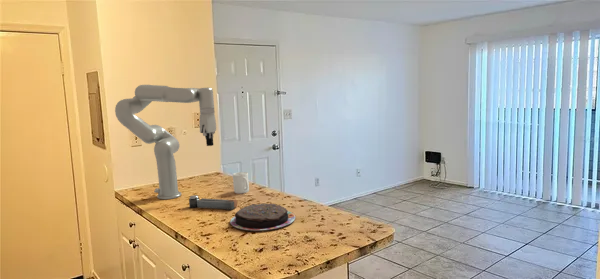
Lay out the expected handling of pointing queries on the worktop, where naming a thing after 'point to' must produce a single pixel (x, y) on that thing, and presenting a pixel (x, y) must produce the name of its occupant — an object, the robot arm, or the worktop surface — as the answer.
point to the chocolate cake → (262, 218)
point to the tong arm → (213, 199)
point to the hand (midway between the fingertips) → (210, 145)
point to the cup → (241, 182)
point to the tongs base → (211, 204)
